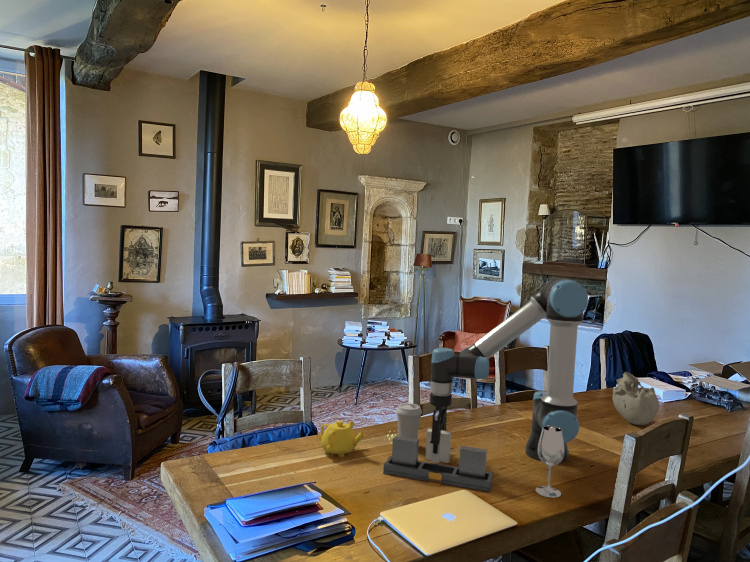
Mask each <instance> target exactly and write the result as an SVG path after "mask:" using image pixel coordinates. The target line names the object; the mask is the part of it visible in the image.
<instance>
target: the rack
mask: <svg viewBox="0 0 750 562" xmlns="http://www.w3.org/2000/svg"><path fill="white" fill-rule="evenodd" d="M419 442H420V439H419V438H417V439H414V438H407V437H400V436H398V435H395V436H393V438H392V447H391V448H392V449H391V452H392V453H391V455H389V457H388V458H387V460H386V461H385V462H383V470H382V471H383V473H382V474H384V475H391V476H395V477H403V478H406V479H412V480H419V481H424V482H427V483H426V484H427V485H430V486H436V487H440V486H441V485H448V486H453V487H459V488H465V489H470V490H475V491H482V492H487V493H490V491H491V488H492V485H493V481H494V480H493V475H494V473H493V472H490V471H486V470H487V457H488V456H487V455H488V450H487V449H485V448H479V447H478V448H477V447H473V446H472V447H471V446H465V445H461V446H460V449H459V460H458V461H459V464H458V466H452V465H448V464H441V463H436V462H431V461H430V462H429V461H422V460H419V447H420V446H419Z"/></svg>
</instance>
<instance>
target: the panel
mask: <svg viewBox="0 0 750 562" xmlns="http://www.w3.org/2000/svg"><path fill="white" fill-rule="evenodd" d="M431 435H432V428H427V430H426V438H425V439H426V443H425V460H427V461H431V455H432V443H430V441H431ZM451 443H452V431H449V430H448V431H447V430H446V431H442V430H441V435H440V461H439V463H445V464H447V463H450V460H451V445H452V444H451Z"/></svg>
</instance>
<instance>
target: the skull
mask: <svg viewBox="0 0 750 562" xmlns="http://www.w3.org/2000/svg"><path fill="white" fill-rule="evenodd" d="M616 384H617V385H616V386H614V388H613V389H612V402H613V405H614V407H615V410H616V411H617V412H618V414H619V415H620V416H621V417H622V418H623V419H625V421H627V422H629V423H631V424H633V425H636V426H644V425H645V426H646V425H647V424H649V423H650V422H651V421H652V420H654V418H655V417H656V415H658V412H659V409H660V407H661V406H660V402H659V398H658V396H657V394H656V390H655V387H650V388H649V387H644V385H642V384H641V381H639V378H638V377H637V376H634V375H633V374H632V373H630V372H628V371H624V373H622V377H620V378H617V379H616ZM639 386H640V387H639Z"/></svg>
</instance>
